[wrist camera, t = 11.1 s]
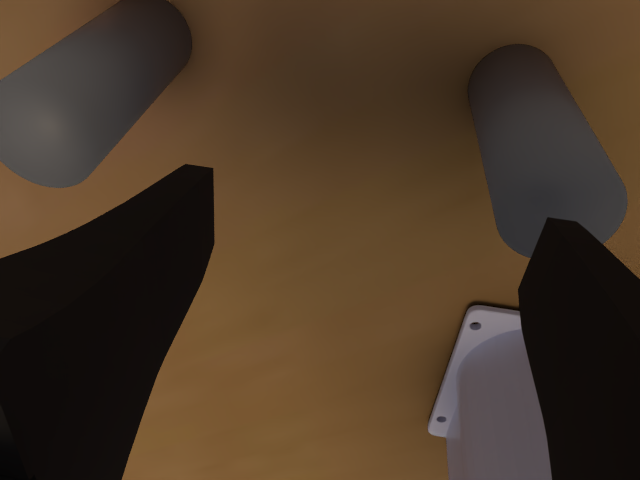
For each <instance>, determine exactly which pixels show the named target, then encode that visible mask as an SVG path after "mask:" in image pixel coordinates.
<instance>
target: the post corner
mask: <svg viewBox="0 0 640 480" xmlns="http://www.w3.org/2000/svg"><path fill="white" fill-rule="evenodd" d="M191 49H192V40H191V34H190V30H189V27H188V25H187V23H186V21H185V19H184V18H183V16H182V15H181V14H180V12H179V11H178V10H177V9H176V8H175V7H174V6H173V5H172V4H170V3H169V2H168V1H166V0H121V1H120V2H118V3H117V4H115V5H114V6H112V7H111V8H109V9H108V10H106V11H105V12H103V13H102V14H100V15H99V16H97V17H96V18H94V19H92V20H91V21H89V22H88V23H86V24H85V25H83V26H82V27H80V28H79V29H77V30H76V31H74V32H73V33H71V34H70V35H68V36H67V37H65V38H64V39H62V40H61V41H59V42H58V43H56V44H55V45H53V46H52V47H50V48H49V49H47V50H45V51H44V52H42V53H41V54H39V55H38V56H36V57H35V58H33V59H32V60H30V61H29V62H27V63H26V64H24V65H23V66H21V67H20V68H18V69H17V70H15V71H14V72H12V73H11V74H9V75H8V76H6V77H5V78H3V79H2V80H0V161H1V162H2V163H3V164H5V165H6V166H7V167H8V168H9V169H10V170H12V171H13V172H14V173H16V174H18V175H19V176H21V177H22V178H24V179H26V180H28V181H31V182H33V183H36V184H39V185H42V186H47V187H54V188H64V187H70V186H73V185H76V184H78V183H81V182H82V181H84V180H85V179H86V178H87V177H88V176H89V175H90V174H91V173H92V172H93V171H94V169H95V168H96V167H97V166H98V165H99V164H100V163H101V161H102V160H103V159H104V158H105V157H106V156H107V155H108V153H109V152H110V151H111V150H112V149H113V148H114V147H115V145H116V144H117V143H118V142H119V141H120V140H121V139H122V137H123V136H124V135H125V134H126V133H127V132H128V131H129V129H130V128H131V127H132V126H133V125H134V124H135V123H136V121H137V120H138V119H139V118H140V117H141V116H142V114H143V113H144V112H145V111H146V110H147V109H148V108H149V106H150V105H151V104H152V103H153V102H154V101H155V100H156V98H157V97H158V96H159V95H160V94H161V93H162V92H163V90H164V89H165V88H166V87H167V86H168V85H169V84H170V82H171V81H172V80H173V79H174V78H175V77H176V76H177V74H178V73H179V72H180V71H181V70H182V69H183V68H184V66H185V65H186V64H187V62H188V60H189V58H190V54H191Z"/></svg>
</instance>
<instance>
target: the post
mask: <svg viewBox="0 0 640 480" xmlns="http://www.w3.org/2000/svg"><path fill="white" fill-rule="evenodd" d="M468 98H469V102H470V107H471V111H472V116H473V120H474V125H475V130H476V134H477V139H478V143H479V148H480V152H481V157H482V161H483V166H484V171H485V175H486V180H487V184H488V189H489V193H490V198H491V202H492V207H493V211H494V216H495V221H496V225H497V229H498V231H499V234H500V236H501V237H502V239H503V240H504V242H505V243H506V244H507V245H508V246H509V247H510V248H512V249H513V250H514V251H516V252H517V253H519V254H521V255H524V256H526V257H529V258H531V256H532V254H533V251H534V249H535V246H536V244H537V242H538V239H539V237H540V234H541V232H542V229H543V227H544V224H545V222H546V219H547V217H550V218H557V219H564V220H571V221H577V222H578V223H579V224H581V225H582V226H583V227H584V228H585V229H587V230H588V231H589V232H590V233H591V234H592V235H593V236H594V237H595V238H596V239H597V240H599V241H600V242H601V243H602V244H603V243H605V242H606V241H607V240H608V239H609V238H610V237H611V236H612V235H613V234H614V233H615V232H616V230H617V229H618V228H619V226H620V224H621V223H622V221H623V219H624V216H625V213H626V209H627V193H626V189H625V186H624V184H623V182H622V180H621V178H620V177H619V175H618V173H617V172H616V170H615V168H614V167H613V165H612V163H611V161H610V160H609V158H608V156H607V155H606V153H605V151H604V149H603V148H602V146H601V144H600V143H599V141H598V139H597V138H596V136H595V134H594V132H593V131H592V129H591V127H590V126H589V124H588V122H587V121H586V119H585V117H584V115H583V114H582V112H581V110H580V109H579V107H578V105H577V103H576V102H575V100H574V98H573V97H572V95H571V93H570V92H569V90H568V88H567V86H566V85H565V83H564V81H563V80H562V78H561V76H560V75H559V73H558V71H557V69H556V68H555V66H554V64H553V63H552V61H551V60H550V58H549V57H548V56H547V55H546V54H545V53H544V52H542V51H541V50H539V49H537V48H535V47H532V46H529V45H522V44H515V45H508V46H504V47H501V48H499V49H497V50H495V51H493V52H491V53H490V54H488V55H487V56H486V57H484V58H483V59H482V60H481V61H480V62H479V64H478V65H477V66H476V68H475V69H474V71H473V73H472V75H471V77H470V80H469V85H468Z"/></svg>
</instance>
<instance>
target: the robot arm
mask: <svg viewBox="0 0 640 480" xmlns="http://www.w3.org/2000/svg"><path fill="white" fill-rule="evenodd" d="M213 246H214V186H213V168H209V167H202V166H195V165H188V164H185V165H183V166H181V167H180V168H178V169H176V170H175V171H173V172H172V173H170V174H169V175H167V176H165V177H164V178H162V179H161V180H159V181H158V182H156V183H155V184H153V185H152V186H150V187H148V188H147V189H145V190H144V191H142V192H140V193H139V194H137V195H136V196H134V197H132V198H131V199H129V200H128V201H126V202H124V203H123V204H121V205H119V206H117V207H115V208H114V209H112V210H110V211H108V212H106V213H105V214H103V215H101V216H99V217H97V218H96V219H94V220H92V221H90V222H88V223H86V224H84V225H82V226H80V227H78V228H76V229H74V230H72V231H70V232H68V233H66V234H63V235H61V236H59V237H56V238H54V239H52V240H49V241H47V242H45V243H42V244H40V245H37V246H35V247H32V248H29V249H26V250H23V251H20V252H18V253H15V254H12V255H9V256H6V257H3V258H1V259H0V480H122V477H123V473H124V470H125V467H126V464H127V461H128V457H129V454H130V451H131V448H132V446H133V443H134V440H135V437H136V434H137V431H138V428H139V425H140V422H141V419H142V416H143V413H144V410H145V407H146V405H147V402H148V399H149V396H150V394H151V391H152V388H153V385H154V382H155V380H156V377H157V374H158V372H159V370H160V367H161V365H162V363H163V361H164V358H165V356H166V354H167V352H168V350H169V348H170V346H171V344H172V342H173V340H174V338H175V336H176V334H177V332H178V330H179V328H180V326H181V324H182V322H183V320H184V318H185V316H186V314H187V312H188V310H189V307H190V305H191V303H192V301H193V299H194V297H195V295H196V293H197V291H198V289H199V287H200V285H201V282H202V280H203V277H204V274H205V271H206V268H207V266H208V262H209V259H210V256H211V253H212V250H213ZM518 295H519V310H520V311H516V310H509V309H503V308H496V307H489V306H483V305H475V306H472V307H470V308H469V309H468V310H467V312H466V315H465V318H464V321H463V323H462V326H461V329H460V332H459V335H458V338H457V341H456V344H455V347H454V350H453V352H452V355H451V358H450V361H449V364H448V367H447V370H446V373H445V376H444V379H443V382H442V384H441V387H440V390H439V393H438V396H437V399H436V402H435V405H434V408H433V411H432V413H431V416H430V419H429V422H428V431H429V433H430V434H432V435H435V436H440V437H446V444H447V460H448V475H449V480H640V279H639V278H638V277H637V276H636V275H634V274H633V273H632V272H631V271H630V270H629V269H628V268H627V267H626V266H625V265H624V264H623V263H622V262H621V261H620V260H619V259H617V258H616V257H615V256H614V255H613V254H612V253H611V252H610V251H609V250H608V249H607V248H606V247H605V246H604V245H603V244H602V243H601V242H600V241H599V240H597V239H596V238H595V237H594V236H593V235H592V234H591V233H590V232H589V231H588V230H587V229H585V228H584V227H583V226H582V225H581V224H579V223H578V222H577V221H571V220H564V219H557V218H550V217H547V219H546V222H545V224H544V227H543V229H542V232H541V234H540V237H539V239H538V242H537V244H536V246H535V249H534V251H533V254H532V256H531V259H530V261H529V264H528V266H527V269H526V271H525V274H524V276H523V279H522V281H521V283H520V286H519V288H518ZM473 322H478V324H471V323H473Z"/></svg>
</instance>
